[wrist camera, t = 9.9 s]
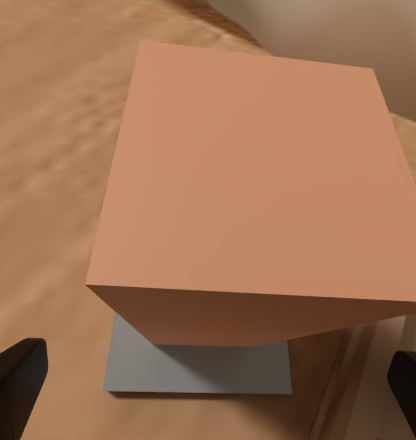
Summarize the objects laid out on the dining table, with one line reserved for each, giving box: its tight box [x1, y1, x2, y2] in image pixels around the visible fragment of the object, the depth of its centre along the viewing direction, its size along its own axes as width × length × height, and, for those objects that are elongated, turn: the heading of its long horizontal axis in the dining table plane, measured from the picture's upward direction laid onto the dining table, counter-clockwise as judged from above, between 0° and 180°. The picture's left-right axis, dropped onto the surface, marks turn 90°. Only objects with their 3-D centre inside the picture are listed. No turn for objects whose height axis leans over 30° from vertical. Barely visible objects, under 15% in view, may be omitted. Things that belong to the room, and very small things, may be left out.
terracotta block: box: [85, 40, 416, 348], centre depth 10 cm, size 5×5×12 cm
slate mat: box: [103, 312, 292, 394], centre depth 16 cm, size 9×9×1 cm
